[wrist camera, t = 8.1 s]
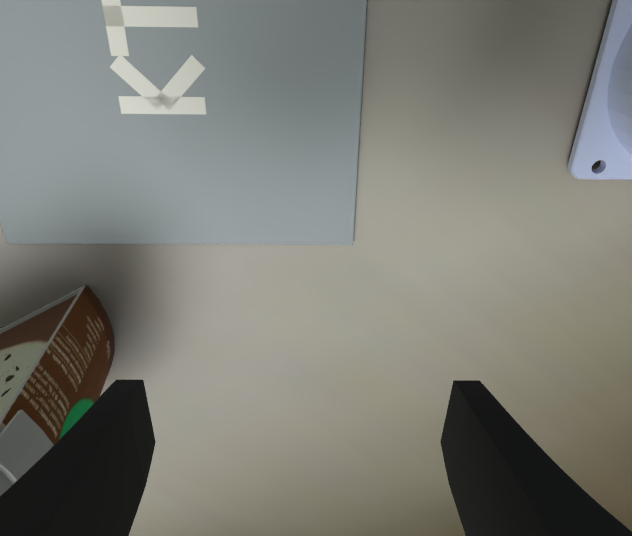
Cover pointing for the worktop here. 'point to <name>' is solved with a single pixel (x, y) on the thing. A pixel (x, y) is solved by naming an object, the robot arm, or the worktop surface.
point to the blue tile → (180, 121)
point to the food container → (49, 376)
